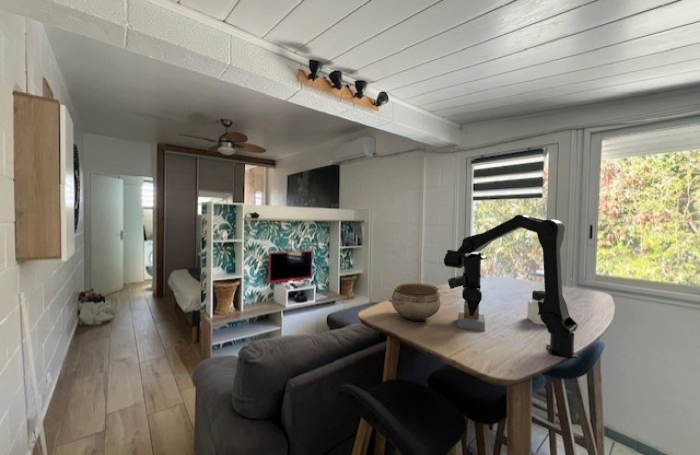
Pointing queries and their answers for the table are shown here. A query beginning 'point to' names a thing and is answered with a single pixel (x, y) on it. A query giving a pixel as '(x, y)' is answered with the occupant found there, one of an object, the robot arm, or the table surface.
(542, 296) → the medicine bottle
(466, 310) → the walnut cube
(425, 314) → the cooking pot
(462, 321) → the grey-green flat square block
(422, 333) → the table surface
